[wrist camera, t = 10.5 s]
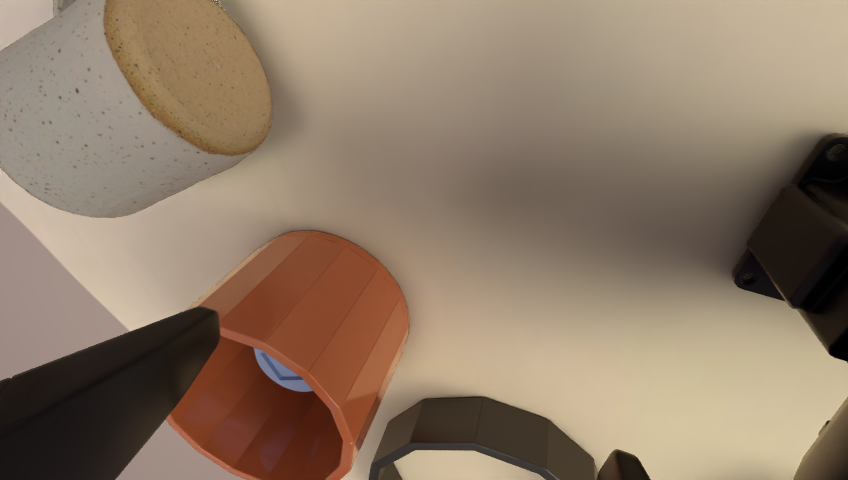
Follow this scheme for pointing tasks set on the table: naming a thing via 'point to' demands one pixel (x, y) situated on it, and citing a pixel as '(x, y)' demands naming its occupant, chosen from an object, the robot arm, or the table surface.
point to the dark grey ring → (482, 438)
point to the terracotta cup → (296, 359)
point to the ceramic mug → (128, 103)
